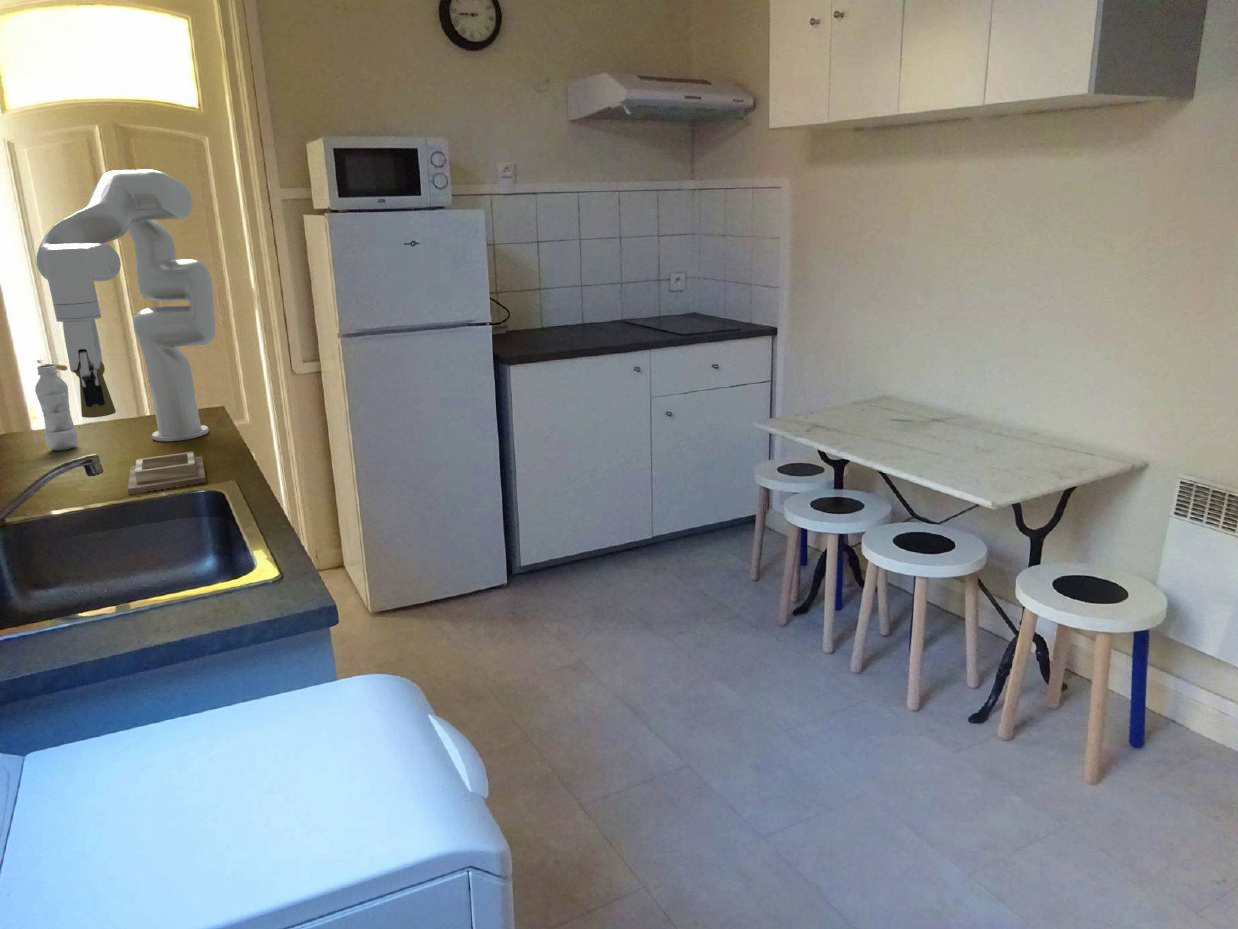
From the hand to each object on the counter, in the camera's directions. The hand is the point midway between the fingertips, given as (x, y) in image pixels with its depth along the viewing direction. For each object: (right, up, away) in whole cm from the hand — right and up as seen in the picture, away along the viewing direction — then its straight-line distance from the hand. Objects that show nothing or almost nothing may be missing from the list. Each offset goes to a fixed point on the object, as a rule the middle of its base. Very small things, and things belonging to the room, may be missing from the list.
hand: (96, 402), depth 175 cm
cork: (0, -2, +1) cm, 2 cm away
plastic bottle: (-27, -9, +32) cm, 43 cm away
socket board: (+10, -15, +8) cm, 20 cm away
